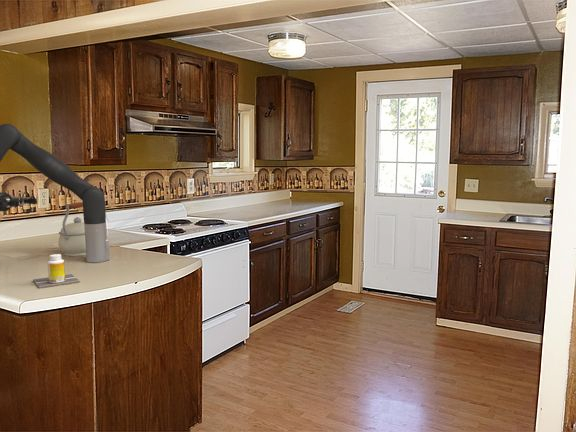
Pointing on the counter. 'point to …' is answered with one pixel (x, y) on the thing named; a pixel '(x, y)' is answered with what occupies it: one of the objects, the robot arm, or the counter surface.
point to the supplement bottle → (56, 269)
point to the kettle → (73, 234)
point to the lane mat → (45, 283)
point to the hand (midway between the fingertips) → (27, 202)
